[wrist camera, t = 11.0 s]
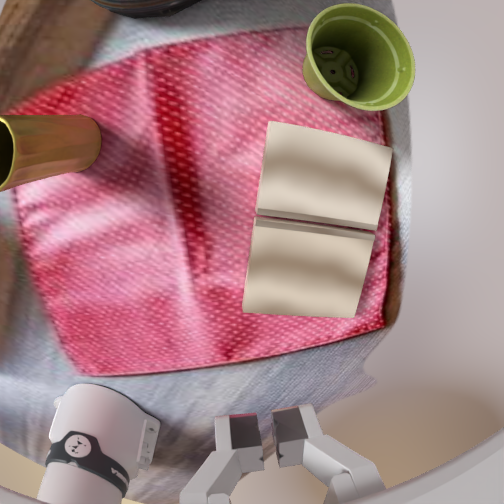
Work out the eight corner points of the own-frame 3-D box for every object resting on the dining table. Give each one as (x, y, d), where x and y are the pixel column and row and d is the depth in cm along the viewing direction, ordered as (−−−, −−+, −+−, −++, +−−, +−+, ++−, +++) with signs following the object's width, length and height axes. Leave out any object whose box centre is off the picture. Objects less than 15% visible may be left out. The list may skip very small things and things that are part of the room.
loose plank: (349, 311, 36) (354, 318, 34) (242, 305, 34) (243, 312, 32) (368, 231, 33) (375, 235, 31) (254, 216, 31) (256, 219, 30)
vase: (103, 112, 26) (22, 100, 13) (102, 170, 28) (23, 198, 15) (54, 118, 25) (-35, 118, 12) (54, 173, 27) (-33, 203, 14)
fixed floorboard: (369, 226, 33) (376, 230, 31) (255, 210, 31) (256, 214, 29) (385, 147, 30) (393, 148, 28) (268, 121, 28) (271, 120, 26)
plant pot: (296, 122, 28) (323, 116, 20) (275, 36, 25) (293, 3, 17) (378, 111, 28) (425, 107, 20) (359, 31, 25) (398, 6, 17)
